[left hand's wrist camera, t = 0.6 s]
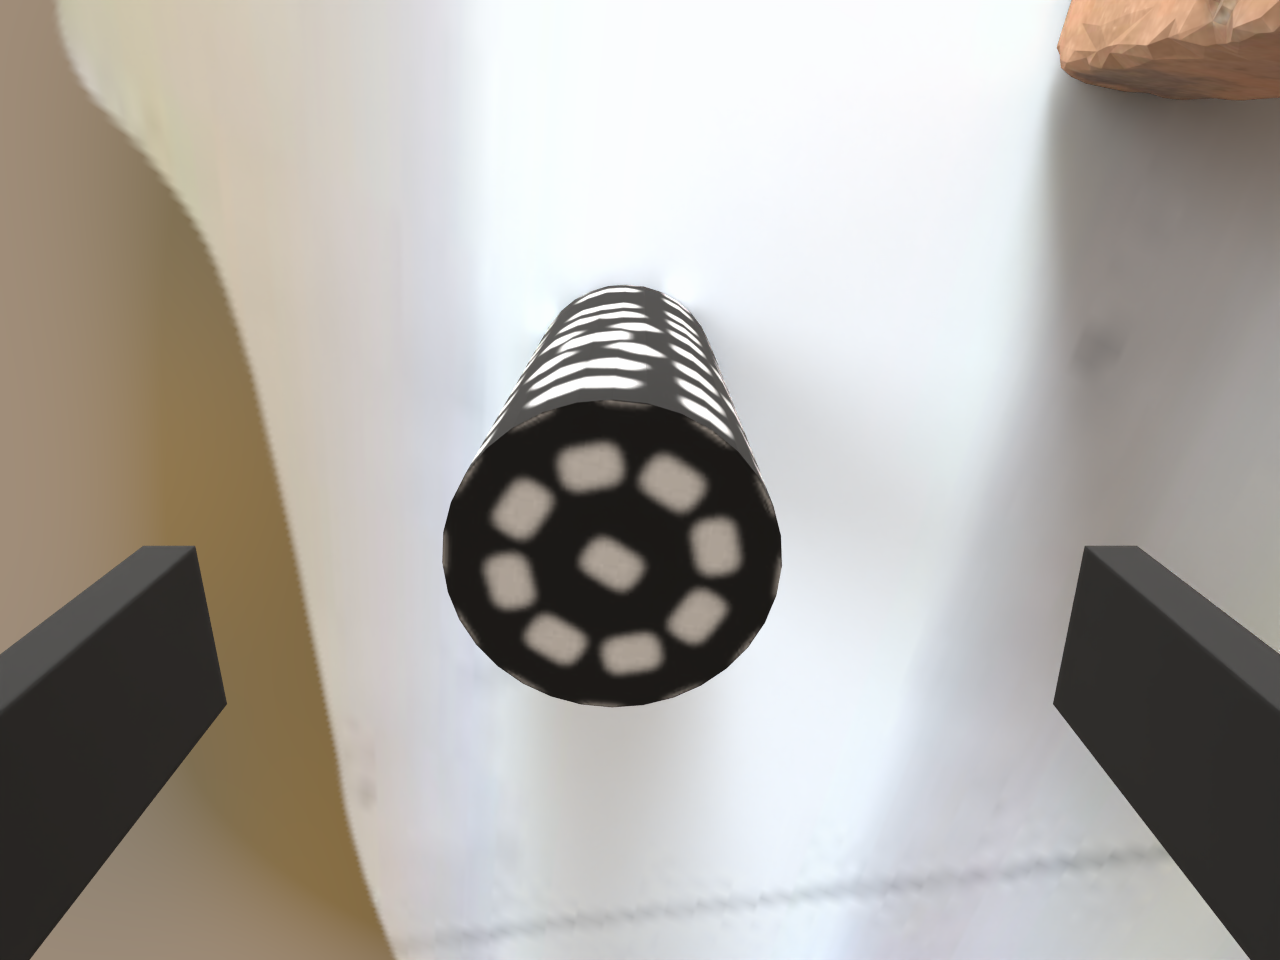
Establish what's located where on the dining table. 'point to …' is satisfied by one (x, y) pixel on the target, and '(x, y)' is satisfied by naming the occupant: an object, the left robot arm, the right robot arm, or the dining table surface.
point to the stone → (1175, 47)
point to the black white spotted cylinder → (615, 512)
